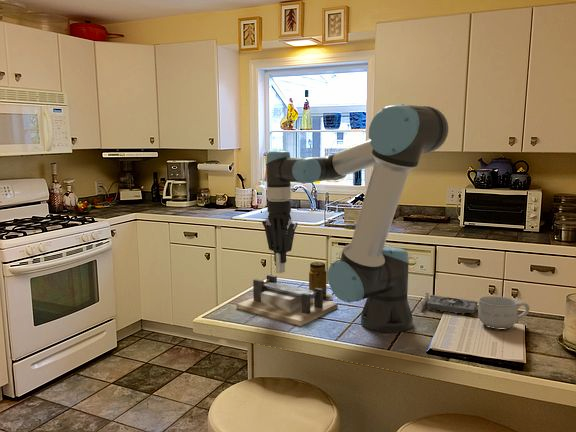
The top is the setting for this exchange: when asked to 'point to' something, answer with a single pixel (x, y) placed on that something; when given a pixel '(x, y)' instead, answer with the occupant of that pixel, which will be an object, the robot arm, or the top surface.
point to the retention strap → (288, 289)
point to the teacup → (500, 311)
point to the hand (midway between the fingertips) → (280, 272)
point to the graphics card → (448, 304)
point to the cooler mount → (286, 304)
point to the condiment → (318, 278)
